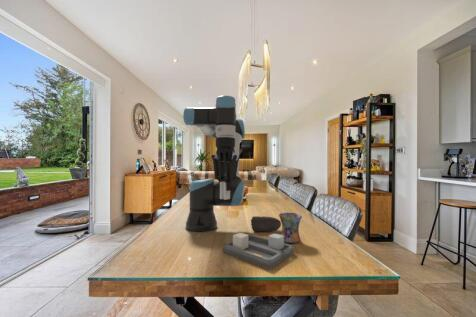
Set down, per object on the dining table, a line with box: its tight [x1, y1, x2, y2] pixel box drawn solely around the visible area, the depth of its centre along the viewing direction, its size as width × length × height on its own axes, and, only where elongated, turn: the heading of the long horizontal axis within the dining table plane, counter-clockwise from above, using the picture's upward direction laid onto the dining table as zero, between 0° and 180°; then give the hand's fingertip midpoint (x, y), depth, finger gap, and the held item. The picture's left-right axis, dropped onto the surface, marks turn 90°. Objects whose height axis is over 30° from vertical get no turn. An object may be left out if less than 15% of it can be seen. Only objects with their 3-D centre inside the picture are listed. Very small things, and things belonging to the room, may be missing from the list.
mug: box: [278, 212, 303, 244], centre depth 98 cm, size 12×9×11 cm
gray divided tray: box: [222, 233, 295, 270], centre depth 84 cm, size 20×16×3 cm
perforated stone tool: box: [250, 215, 282, 233], centre depth 109 cm, size 15×5×7 cm, turn 99°
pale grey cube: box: [267, 233, 285, 250], centre depth 84 cm, size 4×4×4 cm
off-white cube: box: [232, 232, 248, 249], centre depth 84 cm, size 4×4×4 cm
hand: (224, 198), depth 89 cm, fingers closed
